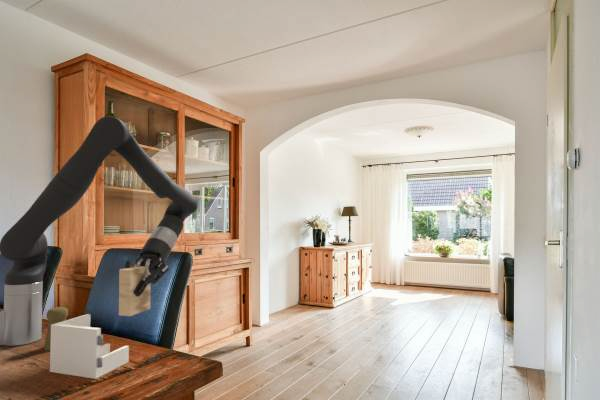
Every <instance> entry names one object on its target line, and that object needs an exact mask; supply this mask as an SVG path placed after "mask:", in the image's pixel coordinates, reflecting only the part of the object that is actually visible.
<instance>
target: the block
mask: <svg viewBox="0 0 600 400" xmlns="http://www.w3.org/2000/svg"><path fill="white" fill-rule="evenodd" d="M124 268H125V267H124ZM124 268H120V269H119V277H118V278H119V279H118V280H119V281H118V282H119V285H118V293H119V294H118V316H124V317H132V316H134V315H137V314H140V313H143V312H145V311H148V310H151V287H152V286H151V284H152V283H150V284H149V285H147V286H146V288H145V290H144V292H143V293H142V294H141V295H140V296H136V295H135V294H134V290H135V289H136V287H137V285H138V284H139V282H140V281H142V277H143V275H144V271H145V269H146V267H145V266H136V267H130V268H125V269H124Z"/></svg>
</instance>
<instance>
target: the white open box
mask: <svg viewBox="0 0 600 400" xmlns="http://www.w3.org/2000/svg"><path fill="white" fill-rule="evenodd" d="M101 333H102V328H101V327H94V326H93V327H92V326H91V314H90V313H86V314H84V315H79V316H77V317H76V316H75V317H73V318H69V319H66V321H62V322H59V323H56V324H52V325H51V344H50V351H49V372H50V373H55V374H61V375H69V376H73V377H74V376H75V377H81V378H88V379H94V380H95V379H98V378H100V377H102V376H105V375H106V374H108V373H110V372H112V371H114V370H116V369H118V368H120V367H122V366H124V365H125V364H127V363H129V362H130V359H129V358H130V357H129V356H130V346H129V345H123V346H121V347H119V348H116V349H115V350H112V351H111V344H110V343H104V335H103V334H101Z"/></svg>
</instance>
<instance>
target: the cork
mask: <svg viewBox="0 0 600 400" xmlns="http://www.w3.org/2000/svg"><path fill="white" fill-rule="evenodd" d="M68 315H69V309H68V308H67V307H64V306H56V307H52V308H50V309H48V310H47V312H46V319H47V320H48V325H47V330H46V336H45V341H44V348H43V350H44V351H46V352H47V351H48V352H50V344H51V325H52V324H56V323H59V322H62V321H66V320H67V317H68Z"/></svg>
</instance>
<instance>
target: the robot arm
mask: <svg viewBox="0 0 600 400" xmlns="http://www.w3.org/2000/svg"><path fill="white" fill-rule="evenodd" d="M113 151H115V152H116V153H117V154H118V155H120V156H121V157H122V158H123V159H124V160H125V161H126V162H127V164H129V165H130V166H131V168H133V171H135V172H136V174H137V175H138V177H139V178H140V180H142V182H143V183H144V184H145V185H146V186H147V187H148V188H149V189H150V190H151V192H153V193H154V194H155V196H156V197H158V199H165V198H168V199H169V200H171V202H170V204H169V205H168V206H167V208H166V209H165V212H164V215H163V217H162V219H161V221H160V222H159V223H158V225H157V227H156V228H155V229H154V230H153V232H151V235H150V236H149V237H148V238H147V240H146V241H145V243H144V245H143V247H142V248H141V250H140V254H139V257H138V258H137V259H135V261H132V262H131V261H130V260H127V261H126V262H125V264H124V267H123V269H125V268H130V267H136V266H145V267H146V269H145V271H144V275H143V277H142V281H140V282H139V284H138V285H137V287H136V289H135V290H134V294H135V295H136V296H140V295H141V294H142V293H143V292H144V290H145V288H146V286H147V285H149V284H150V283H151V284H152V285H155V284H156V283H157V282H159V280H160V279H161V278H162V277H163V276H164V275H165V274H166V273H167V272H168V271H169V270H170V268H169V266H168V265H167V264H166V261H167V259H168V258H169V256H170V254H171V252H172V250H173V249H174V246H175V244H176V242H177V240H178V238H179V236H180V235H181V233H182V231H183V229H184V221H186V219H187V218H189V216H191V215H192V214H194V213H195V212H197V210H198V206H199V204H198V200H197V198H196V197H195V196H194V195H193V193H191V192H190V191H188V190H187V189H186V188H184V187H183V186H181V185H179V184H178V183H176V181H173V179H172V178H171V177H170V176H169V175H168V173H166V171H164V170H163V168H161V166H159V164H157V163H156V162H155V160H154V159H152V158H151V157H150V155H148V153H147V152H146V151H145V150H144V149H143V148H142V147H141V146H140V144H139V143H138V142H137V140H136V138H135V137H134V136H133V134H132V132H131V131H130V129H129V127H128V126H127V124H126V123H125V122H124V121H122V120H121V119H120V118H118V117H116V116H112V115H107V116H103V117H101V118H99V119H98V120H97V121H96V122H95V123H94V124H93V126H92V128H91V129H90V131H89V132H88V134H87V136H86V138H85V139H84V140H83V142H82V143H81V145H80V146H79V148H77V150H76V152H74V154H73V155H72V156H71V157H70V158H69V159H68V160H67V162H65V164H64V165H63V166H62V167H61V168H60V169H59V171H58V172H57V173H56V174H55V175H54V176H53V177H52V179H51V180H50V182H49V183H48V184H47V185H46V187H45V188H44V190H43V191H42V192H41V193H40V195H38V197H37V198H36V200H34V202H33V203H32V205H31V206H30V207H29V209H28V210H27V211H26V212H25V213H24V214H23V215H22V216H21V217H20V218H19V219H18V220H17V222H15V224H13V226H11V227H10V228H9V229H8V230H7V231H6V232H5V234H4V235H3V236H2V238H0V239H1V240H0V255H1V256H2V257H3V258H4V259H6V260H8V261H13V264H12V267H11V268H10V269H9V271H8V272H7V273H6V274H5V276H4V291H3V292H4V295H3V310H1V311H0V346H8V347H9V346H10V347H12V346H13V347H15V346H23V345H28V344H31V343H34V342H38V341H40V340H41V339H42V333H43V330H42V327H43V325H42V323H43V293H44V291H43V290H44V289H43V288H44V286H43V284H44V283H43V282H44V281H43V280H44V275H45V272H46V269H47V261H48V240H47V236H46V235H45V234H44V233H45V232H46V230H47V229H48V228H49V227H50V226H51V225H52V224H53V223H55V221H57V220H58V219H59V218H60V217H62V216H64V215H65V214H66V213H68V211H70V210H71V209H72V208H74V206H75V205H76V204H77V203H79V201H80V200H81V199H82V197H83V196H84V195H85V194H86V193H87V191H88V190H89V188H90V186H91V185H92V183H93V181H94V179H95V177H96V174H97V173H98V170H99V168H100V167H101V165H102V163H103V162H104V161H105V159H107V157H108V156H109V155H110V154H111V153H112V152H113Z"/></svg>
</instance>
